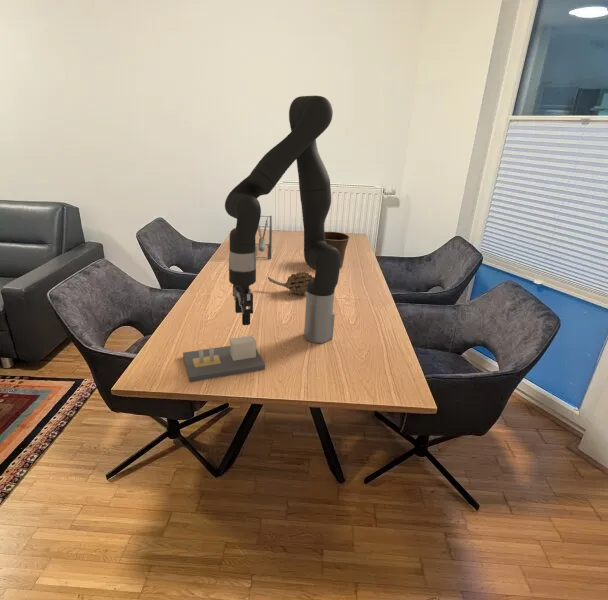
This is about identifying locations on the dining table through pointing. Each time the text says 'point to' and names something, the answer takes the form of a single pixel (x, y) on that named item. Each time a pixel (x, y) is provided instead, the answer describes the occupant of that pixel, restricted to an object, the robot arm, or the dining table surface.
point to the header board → (218, 363)
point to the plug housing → (242, 347)
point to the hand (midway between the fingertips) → (242, 318)
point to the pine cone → (296, 282)
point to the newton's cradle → (262, 239)
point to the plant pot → (337, 242)
